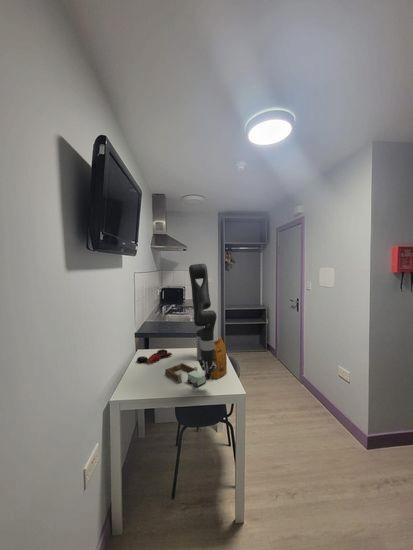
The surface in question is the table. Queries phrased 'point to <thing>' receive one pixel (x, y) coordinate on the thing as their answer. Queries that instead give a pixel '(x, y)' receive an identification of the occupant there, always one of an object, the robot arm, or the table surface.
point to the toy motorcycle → (154, 357)
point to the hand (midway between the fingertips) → (208, 379)
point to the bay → (171, 371)
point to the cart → (196, 378)
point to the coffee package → (219, 359)
